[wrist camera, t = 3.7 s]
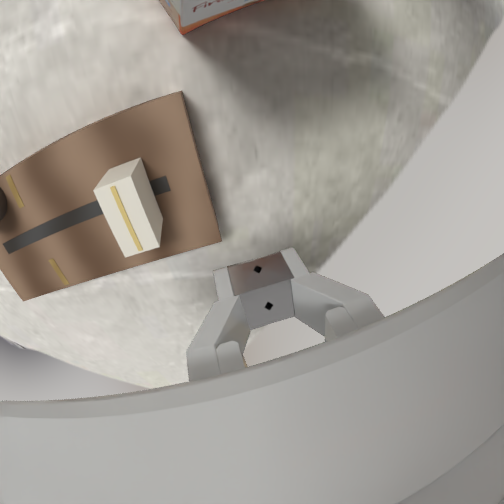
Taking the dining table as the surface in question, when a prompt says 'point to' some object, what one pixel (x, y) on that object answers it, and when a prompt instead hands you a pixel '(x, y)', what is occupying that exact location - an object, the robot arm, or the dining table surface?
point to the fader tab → (130, 207)
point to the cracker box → (200, 11)
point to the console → (87, 206)
